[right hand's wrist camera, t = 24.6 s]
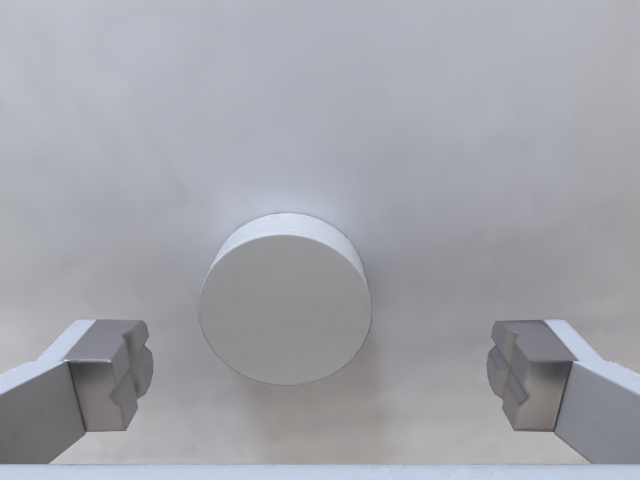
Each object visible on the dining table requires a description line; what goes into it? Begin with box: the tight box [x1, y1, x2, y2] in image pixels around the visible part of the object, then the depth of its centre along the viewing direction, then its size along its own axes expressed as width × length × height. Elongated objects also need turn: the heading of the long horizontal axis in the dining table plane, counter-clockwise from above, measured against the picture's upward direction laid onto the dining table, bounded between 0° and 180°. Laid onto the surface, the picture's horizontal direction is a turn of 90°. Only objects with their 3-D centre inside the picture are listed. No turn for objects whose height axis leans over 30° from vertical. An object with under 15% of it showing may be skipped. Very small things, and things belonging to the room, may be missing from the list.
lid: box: [198, 213, 372, 385], centre depth 13 cm, size 5×5×2 cm
